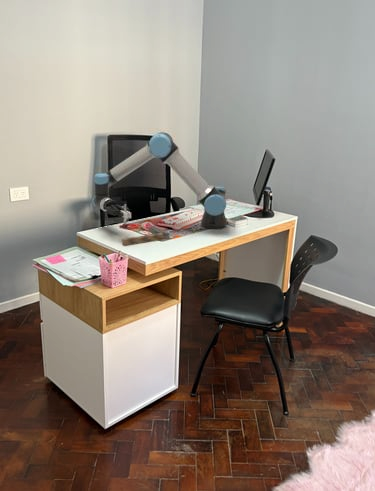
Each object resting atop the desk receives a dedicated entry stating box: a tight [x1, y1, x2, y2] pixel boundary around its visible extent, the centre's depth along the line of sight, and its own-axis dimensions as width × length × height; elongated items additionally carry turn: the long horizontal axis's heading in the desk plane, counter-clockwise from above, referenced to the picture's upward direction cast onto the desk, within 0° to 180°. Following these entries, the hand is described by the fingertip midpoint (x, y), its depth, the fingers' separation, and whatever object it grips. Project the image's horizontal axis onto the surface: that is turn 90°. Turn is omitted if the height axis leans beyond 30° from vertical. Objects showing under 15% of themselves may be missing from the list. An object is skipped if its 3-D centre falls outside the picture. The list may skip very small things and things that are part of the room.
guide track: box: [121, 225, 170, 247], centre depth 229 cm, size 26×16×3 cm, turn 123°
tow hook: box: [118, 203, 140, 231], centre depth 222 cm, size 8×13×9 cm
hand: (128, 215), depth 216 cm, fingers closed on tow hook
